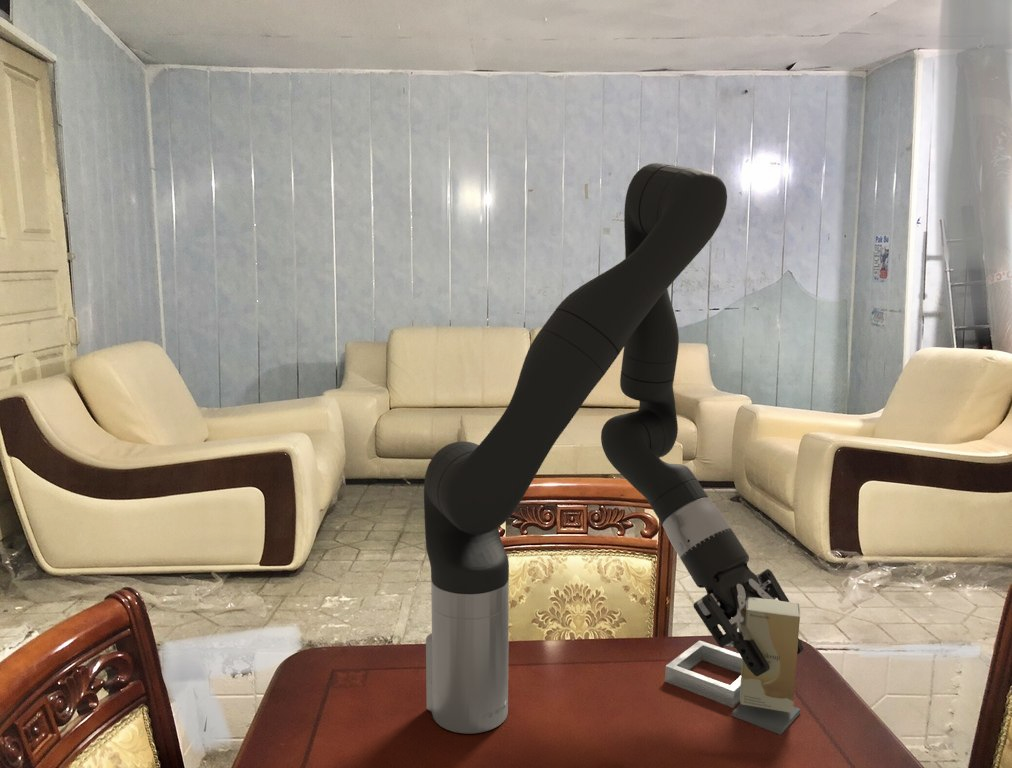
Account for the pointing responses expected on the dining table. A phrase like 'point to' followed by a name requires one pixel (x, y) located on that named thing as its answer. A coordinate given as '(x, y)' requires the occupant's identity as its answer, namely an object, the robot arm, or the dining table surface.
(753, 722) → the pad
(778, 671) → the skincare box
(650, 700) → the dining table surface
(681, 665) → the grey square frame
